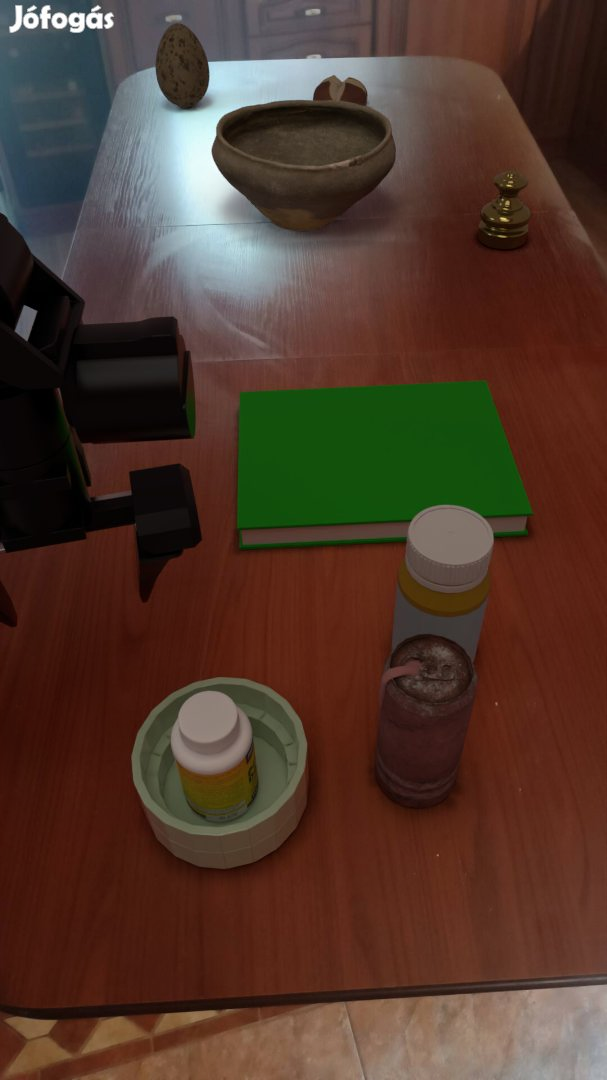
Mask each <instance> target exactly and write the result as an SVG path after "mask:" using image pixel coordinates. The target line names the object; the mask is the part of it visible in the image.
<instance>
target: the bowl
mask: <svg viewBox="0 0 607 1080" xmlns="http://www.w3.org/2000/svg"><path fill="white" fill-rule="evenodd" d="M396 147H397V146H396V143H395V139H394V135H393V126H392V124H391V121H390V119H389V118H388V117H387V116H386V115H385V114H383V113H382V112H380V111H379V110H377V109H375V108H372V107H370V106H366V105H365V106H362V105H358V104H355V103H351V102H345V101H337V100H326V101H318V100H316V101H313V99H312V100H311V99H286V100H275V101H270V102H266V103H259V104H252V105H245V106H242V107H240V108H237V109H234V110H232V111H229V112H227V113H225V114H223V116H221V117H220V118H219V120H218V122H217V124H216V127H215V137H214V140H213V143H212V145H211V155H212V156H211V157H212V160H213V162H214V164H215V166H216V168H217V170H218V171H219V173H220V174H221V175H222V177H223V178H224V179H225V180H226V181H227V182H228V183H229V185H230V186H232V187H233V188H234V189H235V190H236V191H237V192H239V193H240V194H241V195H243V197H245V198H246V200H247V201H248V202H249V203H250V204H251V205H252V206H253V207H254V208H255V209H256V210H257V211H258V212H259V213H260V214H262V215H263V216H264V217H265V218H267V219H268V220H269V221H270V222H271V223H272V224H273V225H274V226H277V227H279V228H281V229H283V230H290V231H301V232H310V231H315V230H319V229H320V230H321V229H322V228H324V227H326V226H327V225H329V224H331V223H332V222H335V220H337V219H338V218H339V217H341V216H342V215H343V214H345V213H346V212H347V211H349V210H350V209H351V208H352V207H353V206H354V205H355V204H356V203H358V202H359V201H361V200H362V199H364V198H365V197H368V195H369V194H371V193H372V192H373V191H375V189H376V188H377V187H378V186H379V185H380V184H381V183H382V182H383V180H384V179H385V178H386V177H387V176H388V175H389V173H390V172H391V171H392V169H393V168H394V166H395V162H396V156H397V154H396V153H397V148H396Z"/></svg>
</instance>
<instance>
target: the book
mask: <svg viewBox="0 0 607 1080" xmlns="http://www.w3.org/2000/svg"><path fill="white" fill-rule="evenodd" d="M238 395H239V400H238V401H239V404H238V405H239V406H238V450H237V451H238V453H237V454H238V455H237V459H238V460H237V513H236V515H237V516H236V522H237V523H236V530H237V531H239V544H238V545H239V550H240V551H244V550H245V551H246V550H263V549H264V550H265V549H266V550H267V549H283V548H284V549H285V548H302V547H323V546H342V545H343V546H344V545H346V546H347V545H364V544H384V543H403V542H404V543H405V542H406V543H407V534H408V528H409V525H410V523H411V521H412V520H413V518H414V517H415V516H416V515H417V514H418V513H420V512H421V511H423V510H425V509H427V508H430V507H433V506H438V505H455V506H461V507H464V508H467V509H470V510H472V511H474V512H476V513H478V514H479V515H480V516H482V517H483V518H484V519H485V520H486V521H487V522H488V524H489V525H490V527H491V529H492V532H493V537H494V538H503V537H504V538H506V537H525V536H526V537H527V536H528V535H529V531H528V529H527V525H526V524H527V520H528V517H533V516H534V511H533V509H532V506H531V503H530V500H529V497H528V495H527V492H526V489H525V486H524V483H523V480H522V478H521V475H520V473H519V470H518V466H517V464H516V461H515V458H514V455H513V453H512V450H511V447H510V444H509V441H508V439H507V435H506V432H505V430H504V428H503V427H504V426H503V424H502V421H501V418H500V416H499V413H498V410H497V408H496V405H495V402H494V399H493V396H492V393H491V390H490V387H489V385H488V382H487V380H486V379H485V380H468V381H466V380H465V381H445V382H443V381H442V382H425V383H424V382H422V383H402V384H401V383H400V384H381V385H380V384H379V385H361V386H358V385H357V386H356V385H355V386H338V387H317V388H314V387H313V388H297V389H293V388H292V389H274V390H271V389H270V390H252V391H251V390H250V391H239V394H238Z"/></svg>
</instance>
